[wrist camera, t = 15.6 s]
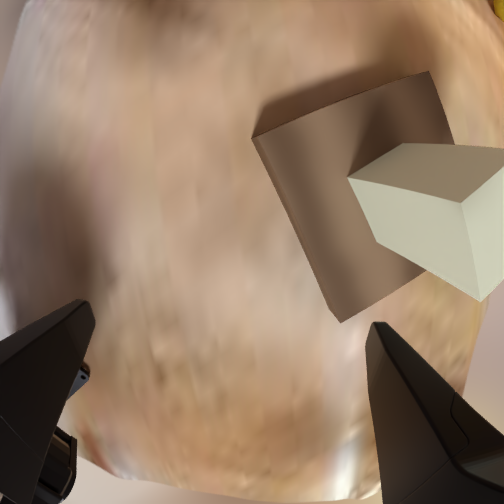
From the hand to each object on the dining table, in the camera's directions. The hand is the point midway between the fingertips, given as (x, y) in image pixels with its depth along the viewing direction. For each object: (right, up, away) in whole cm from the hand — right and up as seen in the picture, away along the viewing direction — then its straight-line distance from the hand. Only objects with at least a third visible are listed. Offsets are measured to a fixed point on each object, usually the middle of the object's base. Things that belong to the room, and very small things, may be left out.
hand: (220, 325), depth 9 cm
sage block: (+10, +6, +11) cm, 16 cm away
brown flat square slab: (+10, +7, +14) cm, 18 cm away
